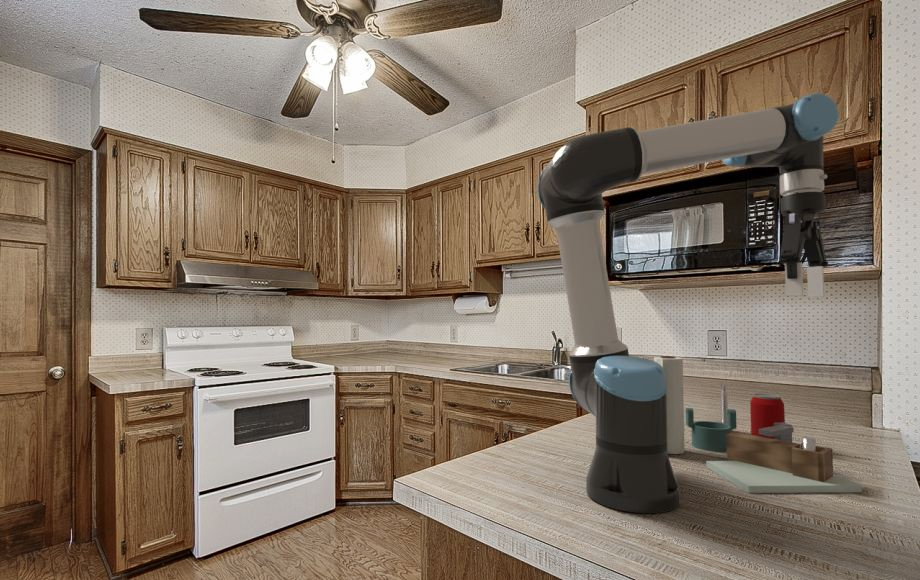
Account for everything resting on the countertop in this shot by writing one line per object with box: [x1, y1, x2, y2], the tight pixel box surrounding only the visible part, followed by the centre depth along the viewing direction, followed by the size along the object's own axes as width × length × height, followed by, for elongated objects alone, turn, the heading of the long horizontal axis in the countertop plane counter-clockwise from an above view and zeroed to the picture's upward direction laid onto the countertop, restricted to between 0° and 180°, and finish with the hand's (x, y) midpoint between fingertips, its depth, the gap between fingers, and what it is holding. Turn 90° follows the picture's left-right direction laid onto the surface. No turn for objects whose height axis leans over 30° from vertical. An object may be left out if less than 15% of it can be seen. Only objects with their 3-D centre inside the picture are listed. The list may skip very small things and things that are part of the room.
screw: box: [715, 381, 729, 424], centre depth 127 cm, size 13×5×5 cm
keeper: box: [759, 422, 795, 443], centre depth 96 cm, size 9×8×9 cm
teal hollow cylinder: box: [685, 407, 738, 453], centre depth 113 cm, size 9×9×9 cm
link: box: [726, 431, 834, 482], centre depth 94 cm, size 17×6×5 cm, turn 39°
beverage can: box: [749, 393, 786, 439], centre depth 112 cm, size 7×7×12 cm
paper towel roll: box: [653, 355, 686, 455], centre depth 109 cm, size 7×6×21 cm
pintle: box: [801, 436, 817, 452], centre depth 90 cm, size 2×2×7 cm
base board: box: [705, 460, 862, 494], centre depth 91 cm, size 20×14×1 cm
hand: (805, 296), depth 99 cm, fingers open, 13 cm apart
